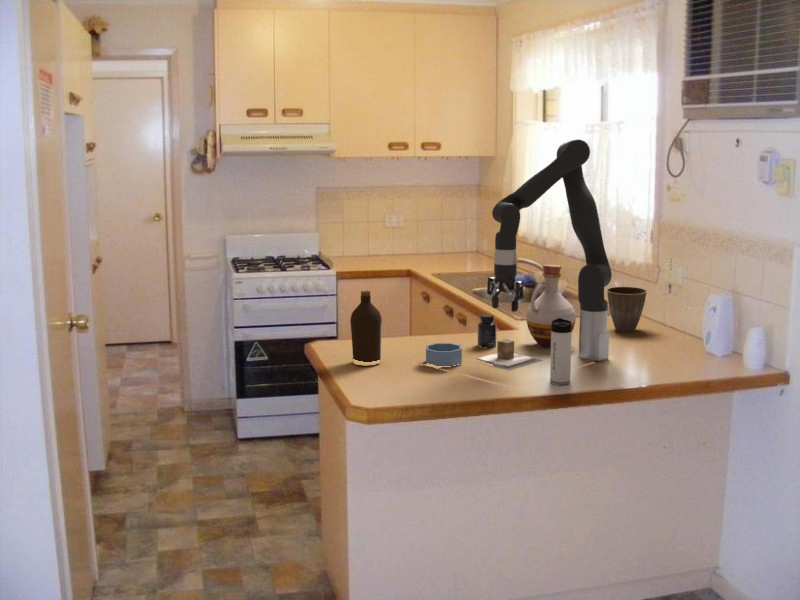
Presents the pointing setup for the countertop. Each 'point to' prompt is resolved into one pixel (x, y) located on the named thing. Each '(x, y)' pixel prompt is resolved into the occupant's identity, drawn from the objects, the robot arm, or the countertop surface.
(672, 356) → the countertop surface
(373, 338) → the olive oil
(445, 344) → the bowl
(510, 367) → the mat
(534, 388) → the countertop surface
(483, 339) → the supplement bottle
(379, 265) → the countertop surface
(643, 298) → the plant pot
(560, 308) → the jug
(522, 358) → the lid
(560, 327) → the travel mug
